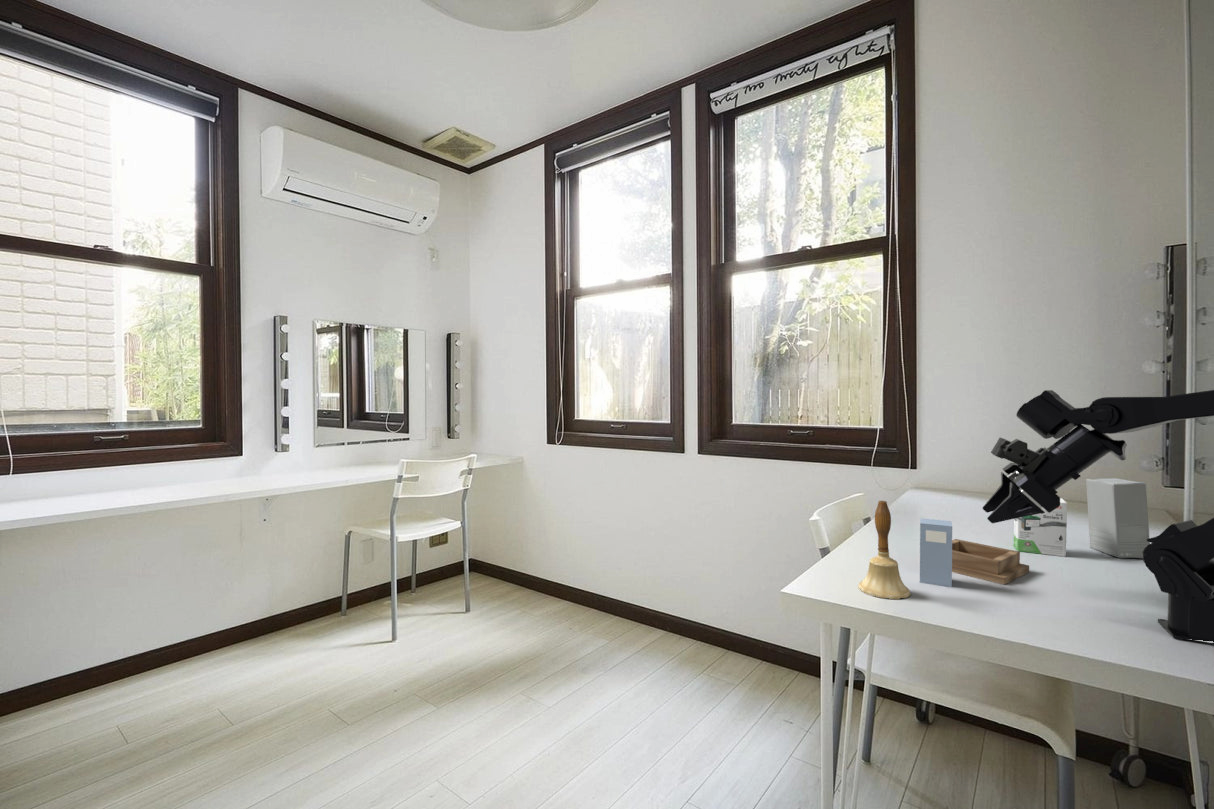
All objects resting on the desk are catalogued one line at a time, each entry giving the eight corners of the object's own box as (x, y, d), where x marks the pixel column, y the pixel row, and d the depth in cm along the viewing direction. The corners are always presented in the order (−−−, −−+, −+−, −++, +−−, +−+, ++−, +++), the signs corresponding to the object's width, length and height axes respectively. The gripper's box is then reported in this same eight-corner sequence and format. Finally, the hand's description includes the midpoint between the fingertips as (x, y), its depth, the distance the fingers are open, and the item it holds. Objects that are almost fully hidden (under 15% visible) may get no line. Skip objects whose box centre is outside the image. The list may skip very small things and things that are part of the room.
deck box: (951, 587, 98) (952, 526, 98) (919, 582, 101) (920, 523, 101) (950, 579, 102) (951, 520, 102) (919, 575, 105) (920, 518, 104)
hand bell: (870, 599, 93) (871, 506, 92) (850, 582, 101) (850, 496, 101) (920, 599, 93) (921, 506, 92) (895, 582, 101) (896, 496, 100)
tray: (1004, 584, 99) (1004, 564, 99) (923, 564, 111) (923, 546, 111) (1029, 571, 106) (1029, 552, 106) (950, 554, 118) (950, 537, 118)
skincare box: (1151, 559, 113) (1153, 483, 112) (1112, 558, 114) (1113, 482, 113) (1120, 548, 121) (1121, 476, 121) (1083, 546, 122) (1084, 476, 122)
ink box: (1016, 551, 119) (1017, 497, 119) (1013, 545, 124) (1013, 493, 123) (1067, 557, 115) (1068, 501, 115) (1062, 551, 119) (1062, 497, 119)
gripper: (1017, 419, 102) (947, 474, 108) (1035, 425, 86) (951, 489, 92) (1071, 464, 99) (995, 518, 104) (1099, 479, 82) (1008, 542, 88)
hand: (986, 515), depth 97 cm, fingers open, 9 cm apart
